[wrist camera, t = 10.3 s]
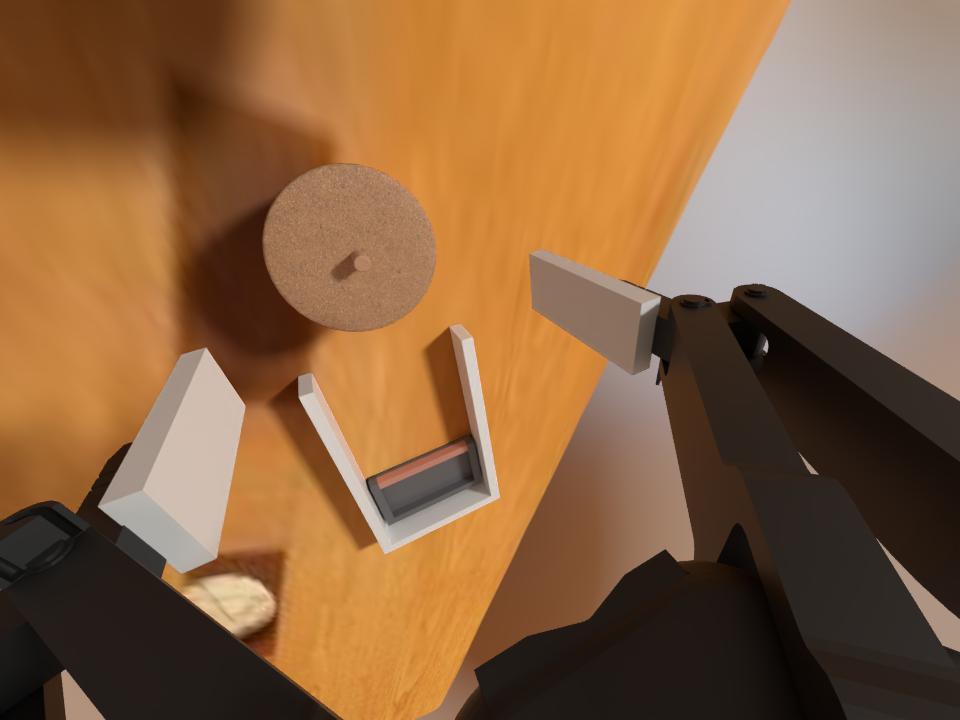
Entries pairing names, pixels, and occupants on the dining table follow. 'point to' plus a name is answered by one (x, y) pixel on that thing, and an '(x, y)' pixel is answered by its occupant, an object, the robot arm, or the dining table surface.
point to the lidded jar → (349, 247)
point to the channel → (357, 484)
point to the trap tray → (426, 480)
